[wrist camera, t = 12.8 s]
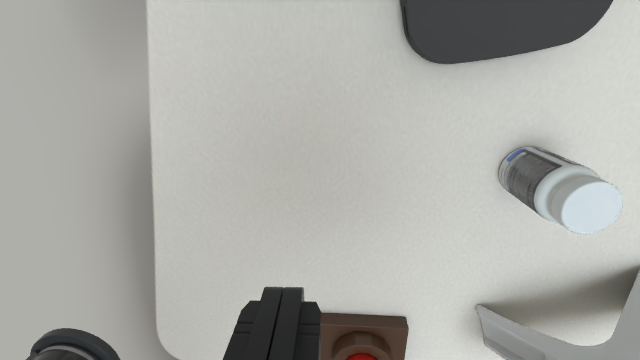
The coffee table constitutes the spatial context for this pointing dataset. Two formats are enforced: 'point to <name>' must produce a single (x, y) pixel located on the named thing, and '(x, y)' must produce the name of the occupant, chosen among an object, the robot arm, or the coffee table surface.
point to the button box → (363, 336)
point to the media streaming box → (495, 26)
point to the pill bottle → (561, 190)
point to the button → (361, 357)
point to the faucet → (558, 356)
